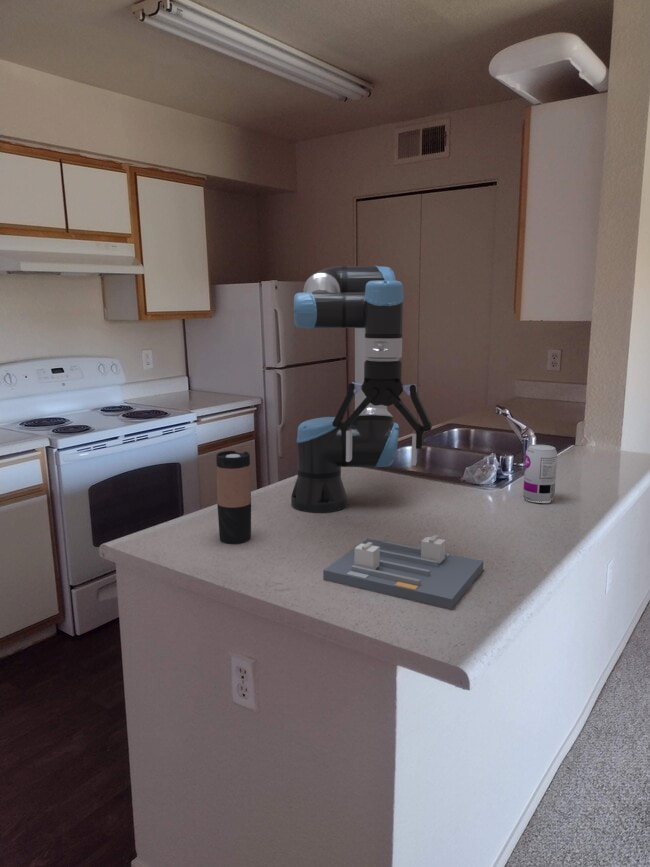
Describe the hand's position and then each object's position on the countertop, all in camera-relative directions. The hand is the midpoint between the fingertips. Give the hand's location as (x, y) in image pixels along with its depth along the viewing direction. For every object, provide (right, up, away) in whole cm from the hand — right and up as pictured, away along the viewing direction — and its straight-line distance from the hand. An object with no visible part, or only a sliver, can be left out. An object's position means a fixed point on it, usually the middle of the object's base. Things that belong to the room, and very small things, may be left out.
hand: (381, 462), depth 134 cm
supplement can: (+47, -13, +45) cm, 66 cm away
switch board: (+4, -22, -5) cm, 23 cm away
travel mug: (-32, -18, +15) cm, 40 cm away
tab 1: (-3, -20, -7) cm, 22 cm away
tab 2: (+10, -19, -3) cm, 22 cm away
